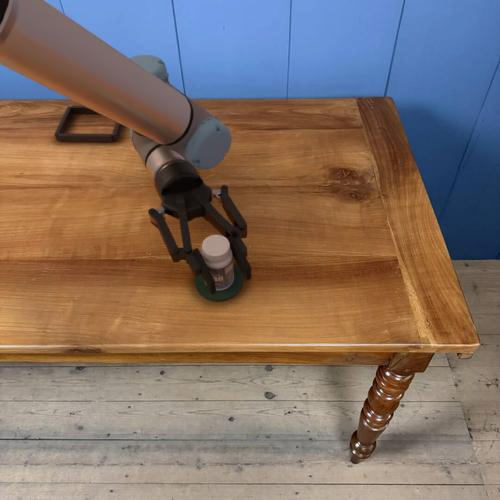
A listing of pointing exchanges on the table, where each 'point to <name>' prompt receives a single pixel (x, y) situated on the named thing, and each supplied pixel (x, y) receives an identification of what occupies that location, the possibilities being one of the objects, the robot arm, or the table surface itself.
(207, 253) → the pill bottle
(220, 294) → the mat
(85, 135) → the dark brown rectangular frame
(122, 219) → the table surface
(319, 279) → the table surface
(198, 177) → the robot arm
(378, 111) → the table surface
